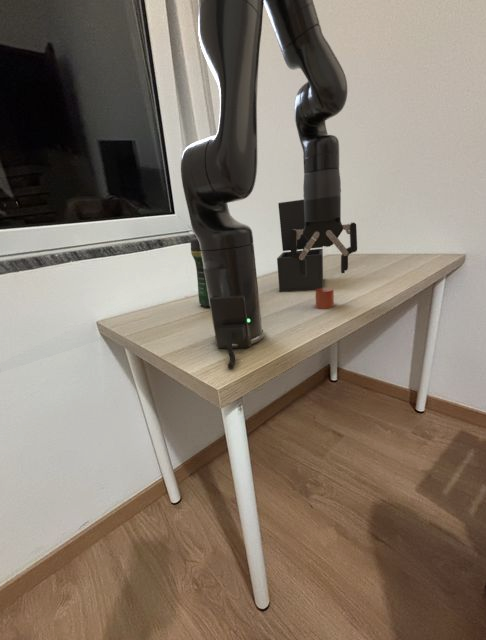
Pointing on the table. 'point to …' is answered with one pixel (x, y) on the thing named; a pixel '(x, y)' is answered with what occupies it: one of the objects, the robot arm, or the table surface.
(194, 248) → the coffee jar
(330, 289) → the red cylinder
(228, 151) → the robot arm
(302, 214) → the lid
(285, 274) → the black open box
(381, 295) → the table surface
